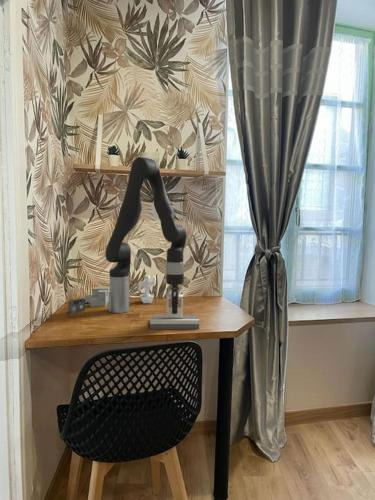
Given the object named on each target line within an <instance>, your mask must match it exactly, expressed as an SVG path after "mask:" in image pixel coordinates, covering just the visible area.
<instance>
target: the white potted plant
mask: <svg viewBox="0 0 375 500" xmlns="http://www.w3.org/2000/svg"><path fill="white" fill-rule="evenodd" d="M143 279H144V281H143V280H142V281H141V280H140V281H139V282H138V285H137V288H138V292H142V288H143V287H144V293H141V294H140V299H141V301H142V302H141V303H143V304H152V303H153V300H154V298H155V294H154V293H150V287H155V286H156V283H157V277H156V276H155V275H153V276H152V280H150V279H151V277H150V275H149V274H145V275H144V278H143Z"/></svg>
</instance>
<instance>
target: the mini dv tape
mask: <svg viewBox="0 0 375 500" xmlns="http://www.w3.org/2000/svg"><path fill="white" fill-rule="evenodd" d="M85 304H86V303H85V297H83V298H79V299H75V300H70V301H68V315H73V314H78V313H80V312H84V311H85V308H86V307H85Z"/></svg>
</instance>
